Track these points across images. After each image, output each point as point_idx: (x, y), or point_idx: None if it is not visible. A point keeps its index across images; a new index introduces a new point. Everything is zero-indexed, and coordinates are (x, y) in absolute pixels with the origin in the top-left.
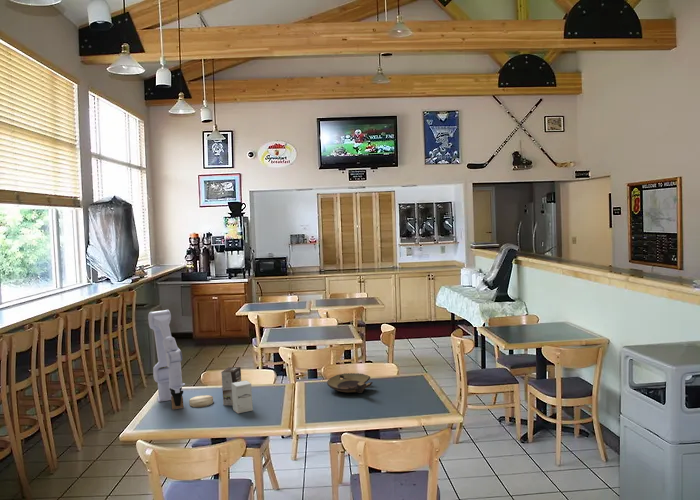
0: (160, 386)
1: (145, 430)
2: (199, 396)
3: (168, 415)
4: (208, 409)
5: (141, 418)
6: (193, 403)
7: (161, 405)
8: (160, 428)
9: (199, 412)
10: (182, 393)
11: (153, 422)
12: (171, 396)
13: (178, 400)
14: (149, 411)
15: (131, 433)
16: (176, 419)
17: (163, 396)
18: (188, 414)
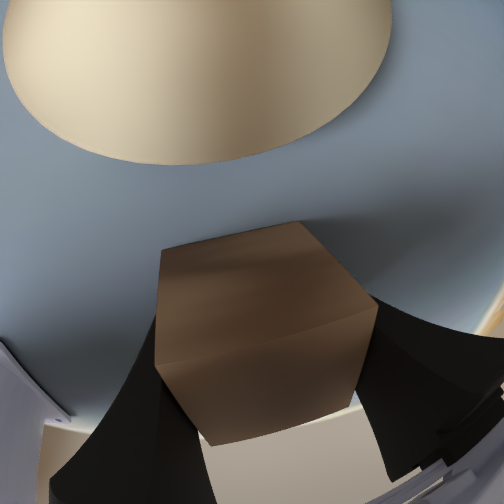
0: (36, 499)
1: (478, 330)
2: (34, 22)
3: (412, 307)
4: (439, 4)
5: (355, 407)
6: (351, 93)
7: None
8: (500, 287)
9: (472, 87)
10: (500, 340)
11: None
12: (226, 442)
13: None
14: None
15: None
16: (485, 242)
17: (39, 426)
18: (472, 171)
